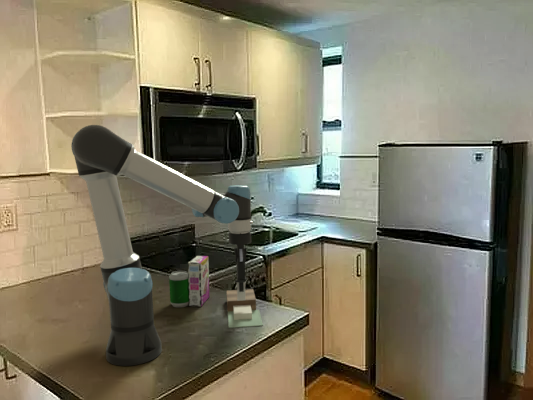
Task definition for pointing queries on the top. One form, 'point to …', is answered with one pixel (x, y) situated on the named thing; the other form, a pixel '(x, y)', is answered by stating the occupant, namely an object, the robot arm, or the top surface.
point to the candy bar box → (198, 280)
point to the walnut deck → (248, 300)
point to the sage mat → (245, 320)
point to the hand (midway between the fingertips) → (241, 299)
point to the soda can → (179, 288)
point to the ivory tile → (242, 312)
